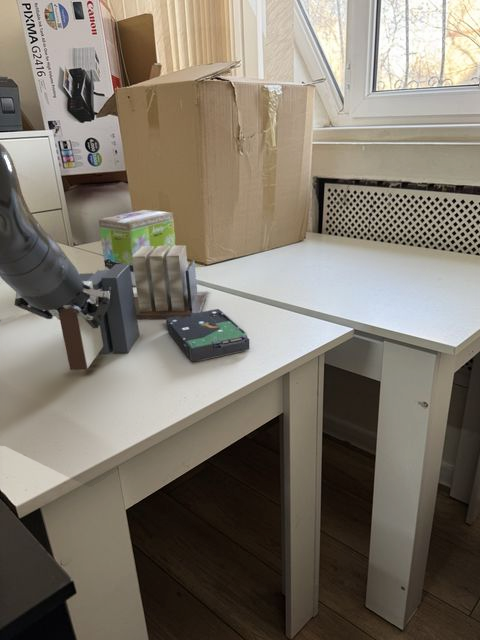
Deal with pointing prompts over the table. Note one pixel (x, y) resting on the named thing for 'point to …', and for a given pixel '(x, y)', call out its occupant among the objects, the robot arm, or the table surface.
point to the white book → (80, 338)
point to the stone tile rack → (165, 283)
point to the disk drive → (207, 335)
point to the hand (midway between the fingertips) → (86, 322)
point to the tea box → (134, 235)
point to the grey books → (117, 308)
